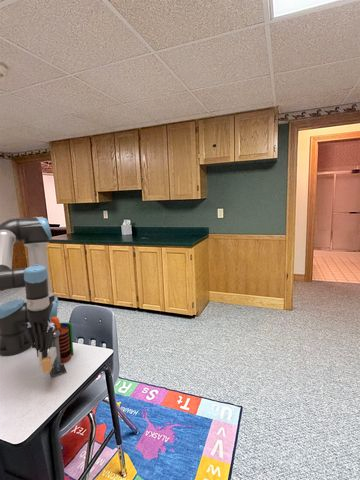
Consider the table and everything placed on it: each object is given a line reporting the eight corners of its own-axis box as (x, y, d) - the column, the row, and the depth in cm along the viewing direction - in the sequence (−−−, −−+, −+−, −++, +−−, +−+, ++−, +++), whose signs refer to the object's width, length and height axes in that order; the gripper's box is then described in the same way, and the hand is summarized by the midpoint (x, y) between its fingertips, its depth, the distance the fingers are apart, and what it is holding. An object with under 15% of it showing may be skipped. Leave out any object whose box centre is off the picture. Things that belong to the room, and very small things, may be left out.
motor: (62, 367, 116) (58, 324, 113) (45, 364, 118) (40, 323, 114) (76, 353, 126) (73, 314, 122) (59, 351, 127) (56, 313, 124)
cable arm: (57, 356, 109) (56, 346, 108) (49, 372, 99) (48, 361, 98) (50, 357, 109) (49, 346, 108) (42, 373, 99) (41, 361, 98)
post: (48, 370, 113) (45, 331, 111) (63, 365, 117) (60, 327, 114) (51, 378, 109) (47, 337, 106) (66, 372, 112) (63, 333, 109)
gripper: (16, 309, 97) (21, 367, 100) (45, 313, 93) (50, 373, 97) (32, 301, 104) (36, 356, 107) (59, 305, 101) (63, 361, 104)
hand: (43, 364), depth 102 cm, fingers closed
